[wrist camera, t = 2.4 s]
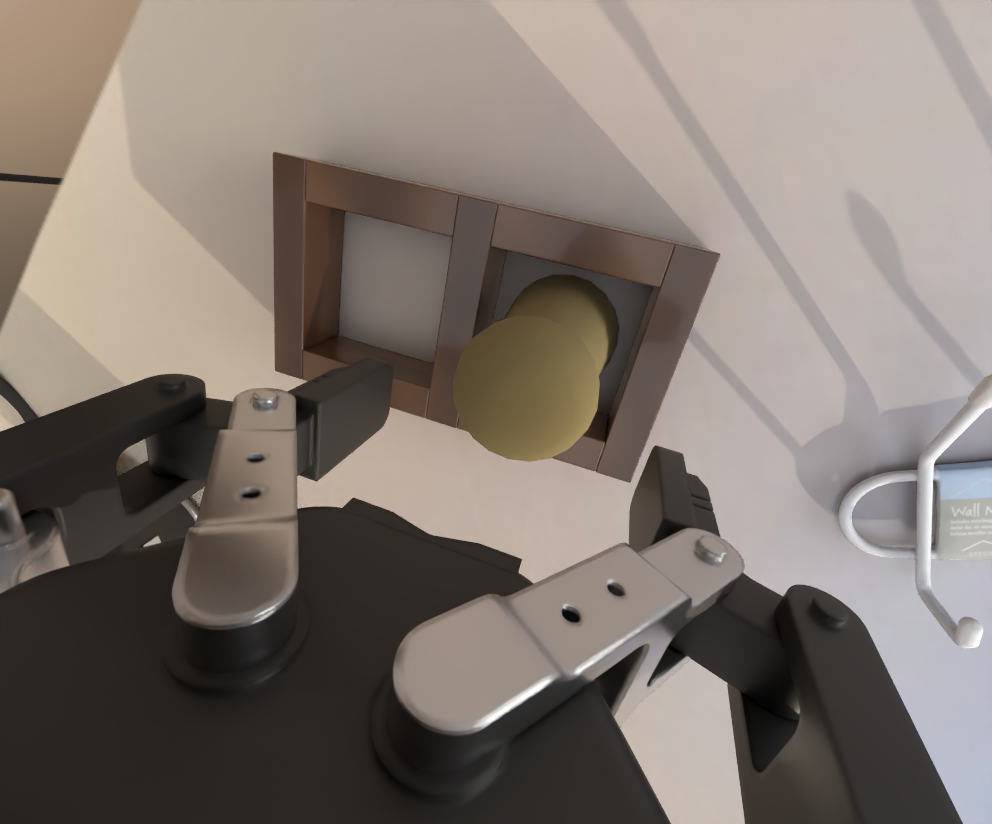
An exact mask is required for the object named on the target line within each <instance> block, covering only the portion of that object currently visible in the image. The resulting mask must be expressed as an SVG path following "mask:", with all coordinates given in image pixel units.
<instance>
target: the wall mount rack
mask: <svg viewBox="0 0 992 824" xmlns="http://www.w3.org/2000/svg"><path fill="white" fill-rule="evenodd" d="M968 400H969V401H968V402H967V404H966V405H965V406H964V407H963V408H962V409H961V410H960V411H959V412H958V413H957V414H956V416H955V417H954V418H953V419H952V420H951V421H950V422H949V423H948V424H947V425H946V427H945V428H944V429H943V430H942V431H941V432H940V433H939V434H938V435H937V436H936V438H935V439H934V440H933V441H932V442H931V443H930V444H929V445H928V446H927V448H926V449H925V450H924V451H923V452H922V453H921V455H920V457H919V461H918V470H904V471H894V472H887V473H882V474H878V475H875V476H872V477H870V478H867V479H865V480H863V481H862V482H860V483H858V484H857V485H856V486H854V487H853V488H852V489H851V490H850V491H849V492H848V493H847V494H846V496H845V497H844V498H843V500H842V502H841V505H840V508H839V514H838V520H839V525H840V528H841V530H842V532H843V534H844V535H845V537H846V538H847V539H848V540H849V541H850V542H851V543H852V544H853V545H855V546H856V547H857V548H859V549H861V550H863V551H865V552H867V553H870V554H873V555H876V556H881V557H888V558H907V559H910V558H913V559H915V560H916V587H917V591H918V594H919V596H920V597H921V599H922V600H923V602H924V603H925V605H926V606H927V607H928V609H929V610H930V611H931V613H932V614H933V616H934V617H935V618H936V620H937V621H938V622H939V624H940V625H941V626H942V627H943V629H944V630H945V631H946V633H947V634H948V636H949V637H950V638H951V639H952V640H953V641H954V642H955V643H956V644H957V645H958V646H960V647H962V648H975V647H977V646H978V645H979V643H980V640H981V637H982V633H983V627H982V625H981V624H980V623H979V622H978V621H977V620H975V619H973V618H971V617H963V618H961V619H960V620H959V622H958V626H957V624H956V623H955V622H954V620H953V619H952V618H951V616H950V615H949V614H948V612H947V611H946V610H945V609H944V608H943V606H942V605H941V604H940V603H939V601H938V600H937V599H936V597H935V596H934V594H933V592H932V589H931V584H930V558H934V559H937V560H975V559H992V460H991V461H980V462H968V463H955V464H942V465H934V463H935V460H936V459H937V458H938V457H939V456H940V455H941V454H942V453H943V452H944V451H945V450H946V449H947V448H948V447H949V446H950V444H951V443H952V442H953V441H954V440H955V439H957V438H958V437H959V436H960V435H961V434H962V433H963V432H964V431H965V430H966V429H967V428H968V427H969V426H970V424H971V423H972V422H974V421H975V420H976V419H977V418H978V417H979V416H980V415H981V414H982V413H983V412H984V411H985V410H986V409H987V408H991V407H992V375H989V376H987V377H985V378H984V379H983V381H982V382H981V383H980V384H979V385H978V386H977V387H976V388H975V389H974V390H973V391H972V393H971V394H970V395H969V397H968ZM905 481H917V511H916V547H911V548H899V547H884V546H880V545H875V544H873V543H870V542H868V541H866V540H865V539H863V538H862V537H861V536H859V534H858V533H857V532H856V531H855V529H854V527H853V524H852V511H853V509H854V506H855V504H856V503H857V501H858V500H859V499H860V498H861V497H862V496H863V495H864V494H866V493H867V492H869V491H870V490H872V489H874V488H876V487H879V486H881V485H885V484H889V483H894V482H905Z"/></svg>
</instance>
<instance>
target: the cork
mask: <svg viewBox="0 0 992 824" xmlns="http://www.w3.org/2000/svg"><path fill="white" fill-rule="evenodd" d="M618 331H619V325H618V321H617V316H616V312H615V309H614V307H613V305H612V304H611V302H610V300H609V299H608V297H607V296H606V294H605V293H604V292H603V291H602V290H600V289H599V288H598V287H597V286H595V285H594V284H593V283H592V282H590V281H588V280H585V279H582V278H580V277H577V276H574V275H552V276H549V277H545V278H542V279H539V280H537V281H535V282H534V283H532V284H531V285H530V286H528V287H527V288H525V289H524V290H523V291H522V292H521V293H520V295H519V296H518V297H517V299H516V300H515V302H514V303H513V304H512V306H511V308H510V310H509V312H508V314H507V316H506V318H505V319H504V320H500V321H496V322H495V323H493V324H492V325H490V326H489V327H488V328H486V329H485V330H483V331H482V332H480V333H479V334H478V335H476V336H475V337H473V339H472V340H471V341H470V343H469V344H468V345H467V347H466V348H465V350H464V351H463V352H462V354H461V356H460V359H459V362H458V365H457V369H456V372H455V376H454V379H453V392H454V403H455V406H456V409H457V411H458V414H459V417H460V420H461V422H462V423H463V424H464V426H465V427H466V428H467V430H468V431H469V433H470V434H471V435H472V437H473V438H474V439H475V440H476V441H478V442H479V443H480V444H481V445H483V446H484V447H485V448H486V449H488V450H489V451H491V452H493V453H496V454H498V455H500V456H503V457H505V458H508V459H514V460H522V461H529V462H530V461H536V460H543V459H549V458H552V457H554V456H556V455H558V454H560V453H562V452H564V451H566V450H568V449H569V448H570V447H571V446H572V445H573V444H574V443H575V442H576V441H577V440H578V439H579V438H580V437H581V436H582V435H583V434H584V433H585V432H586V431H587V430H588V428H589V426H590V424H591V422H592V420H593V418H594V416H595V413H596V411H597V407H598V398H599V387H600V380H599V375H600V374H601V372H602V371H603V369H604V368H605V367H606V365H607V364H608V363H609V361H610V359H611V357H612V355H613V353H614V351H615V348H616V346H617V341H618Z"/></svg>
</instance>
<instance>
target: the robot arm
mask: <svg viewBox="0 0 992 824" xmlns="http://www.w3.org/2000/svg"><path fill="white" fill-rule="evenodd" d="M63 180H64V178H55V177H42V176H30V175H18V174H6V173H0V181H11V182H26V183H39V184H53V185H54V184H55V185H62V182H63ZM393 373H394V369H393V365H392V364H391V363H388V362H385V361H381V360H378V359H375V358H372V357H366V358H364V359H362V360H360V361H358V362H356V363H354V364H352V365H350V366H346V367H341V368H336V369H332V370H330V371H328V372H326V373H324V374H322V375H321V376H318V377H316V378H314V379H312V381H308V382H306V383H304V384H302V385H300V386H298V387H296V388H294V389H292V390H290V391H288V392H286V391H283V390H279V389H273V388H257V389H251V390H247V391H244V392H241V393H239V394H238V395H237V396H236V397H235V398H234V401H233V402H232V401H225V400H218V399H211V398H206V389H205V383H204V381H202V380H201V379H199V378H197V377H194V376H190V375H183V374H165V375H157V376H153V377H149V378H146V379H143V380H141V381H138V382H135V383H132V384H130V385H127V386H124V387H121V388H119V389H116V390H113V391H110V392H108V393H105V394H102V395H100V396H97V397H94V398H91V399H89V400H86V401H83V402H80V403H78V404H75V405H72V406H69V407H67V408H64V409H61V410H59V411H56V412H53V413H50V414H48V415H45V416H42V417H39V418H38V417H37V416H36V414H35V413H34V412H33V410H32V409H31V408H30V407H29V405H28V404H27V403H26V402H25V401H24V399H23V398H22V397H21V396H20V395H19V394H18V393H17V392H16V391H15V390H14V389H13V388H12V387H11V386H10V385H9V384H8V383H7V382H6V381H4V380H3V379H2V378H1V377H0V394H1V395H2V396H3V397H4V398H5V399H6V400H7V401H8V402H9V403H10V404H11V405H12V406H13V407H14V408H15V409H16V410H17V411H18V413H19V414H20V415H21V417H22V418H23V420H24V421H25V423H23V424H20V425H17V426H15V427H12V428H9V429H7V430H4V431H1V432H0V824H671V823H670V821H669V819H668V817H667V816H666V814H665V812H664V810H663V808H662V806H661V804H660V802H659V801H658V799H657V797H656V795H655V793H654V791H653V789H652V787H651V786H650V784H649V782H648V780H647V778H646V776H645V774H644V772H643V771H642V769H641V767H640V765H639V763H638V761H637V759H636V757H635V756H634V754H633V752H632V750H631V748H630V746H629V744H628V742H627V740H626V739H625V737H624V735H623V733H622V731H621V729H620V727H621V726H622V725H623V723H624V722H625V721H626V720H627V718H628V717H629V716H630V714H631V713H632V712H633V711H634V709H635V708H636V707H637V706H638V705H639V704H640V703H641V702H642V701H643V700H644V699H645V698H646V697H648V696H649V695H650V694H651V693H652V692H654V691H655V690H656V689H657V688H658V687H659V686H661V685H662V684H663V683H664V682H665V681H666V680H668V679H669V678H670V677H671V676H672V675H674V674H675V673H676V672H677V671H678V670H679V669H681V668H682V667H683V666H684V665H685V664H687V663H688V662H689V661H690V659H692V660H694V661H695V662H697V663H698V664H700V665H701V666H703V667H704V668H706V669H707V670H709V671H710V672H712V673H713V674H715V675H716V676H718V677H720V678H721V679H723V680H724V681H726V682H727V683H728V694H729V702H730V710H731V717H732V725H733V733H734V741H735V748H736V756H737V764H738V771H739V779H740V787H741V795H742V802H743V810H744V818H745V824H963V823H962V821H961V819H960V817H959V815H958V813H957V811H956V809H955V807H954V805H953V803H952V801H951V799H950V797H949V795H948V793H947V791H946V788H945V786H944V784H943V782H942V780H941V778H940V776H939V774H938V772H937V770H936V768H935V766H934V764H933V762H932V760H931V758H930V756H929V754H928V752H927V750H926V748H925V746H924V744H923V742H922V740H921V738H920V736H919V734H918V732H917V730H916V728H915V726H914V724H913V721H912V719H911V717H910V715H909V713H908V711H907V709H906V707H905V705H904V703H903V701H902V699H901V697H900V695H899V693H898V691H897V689H896V687H895V685H894V683H893V681H892V679H891V677H890V675H889V673H888V671H887V669H886V667H885V665H884V663H883V661H882V659H881V657H880V654H879V652H878V650H877V648H876V646H875V644H874V642H873V640H872V638H871V636H870V634H869V632H868V630H867V628H866V627H865V625H864V623H863V622H862V621H861V619H860V618H859V617H858V616H857V615H856V614H855V613H854V612H853V611H852V610H851V609H850V608H849V607H847V606H846V605H845V604H844V603H842V602H841V601H839V600H838V599H836V598H835V597H833V596H831V595H830V594H828V593H826V592H824V591H822V590H819V589H817V588H814V587H811V586H807V585H794V586H791V587H790V588H789V589H788V590H787V592H786V593H785V595H784V596H781V595H779V594H777V593H776V592H774V591H772V590H770V589H768V588H766V587H765V586H763V585H761V584H759V583H757V582H756V581H754V580H752V579H751V578H749V577H748V576H746V575H745V574H744V573H743V570H744V561H743V559H742V557H741V555H740V554H739V553H738V551H737V550H736V549H735V548H734V547H733V546H732V545H730V544H729V543H728V542H727V541H725V540H724V539H722V538H720V534H719V530H718V526H717V522H716V519H715V515H714V512H713V507H712V503H711V502H710V501H711V500H710V496H709V492H708V489H707V487H706V486H705V485H704V484H703V483H702V481H701V480H700V479H699V478H698V477H697V476H695V475H692V474H688V473H687V472H686V467H685V462H684V457H683V454H682V453H679V452H676V451H672V450H669V449H666V448H663V447H659V446H654V448H653V449H652V451H651V453H650V456H649V458H648V461H647V463H646V466H645V468H644V470H643V473H642V475H641V478H640V480H639V482H638V485H637V487H636V490H635V492H634V495H633V498H632V502H631V506H630V518H629V545H628V544H626V543H620V544H618V545H615V546H613V547H611V548H609V549H607V550H605V551H603V552H601V553H598V554H596V555H594V556H592V557H590V558H588V559H586V560H584V561H582V562H579V563H577V564H575V565H573V566H571V567H569V568H567V569H565V570H562V571H560V572H558V573H556V574H554V575H552V576H550V577H548V578H546V579H543V580H541V581H539V582H537V583H535V584H533V583H532V582H531V581H529V580H528V579H527V578H526V577H524V576H523V575H521V574H519V573H518V571H519V568H520V564H521V561H522V559H520V558H517V557H515V556H512V555H509V554H506V553H504V552H501V551H498V550H495V549H493V548H490V547H487V546H484V545H482V544H479V543H474V542H468V541H462V540H456V539H450V538H444V537H438V536H433V535H430V534H428V533H426V532H424V531H423V530H421V529H419V528H418V527H416V526H414V525H413V524H411V523H410V522H408V521H406V520H405V519H403V518H402V517H400V516H398V515H397V514H395V513H393V512H391V511H389V510H386V509H383V508H380V507H378V506H375V505H372V504H369V503H367V502H364V501H361V500H358V499H356V498H352V499H351V500H350V501H349V502H348V503H347V504H346V505H345V506H344V507H343V508H338V507H306V508H300V509H297V476H298V475H300V476H303V477H306V478H309V479H311V480H314V481H318V480H319V479H320V478H322V477H323V476H324V475H325V474H326V473H328V472H329V471H330V470H331V469H333V468H334V467H335V466H336V465H337V464H339V463H340V462H341V461H342V460H343V459H345V458H346V457H347V456H348V455H350V454H351V453H352V452H353V451H354V450H356V449H357V448H358V447H359V446H360V445H362V444H363V443H364V442H365V441H366V440H368V439H369V438H370V437H371V436H373V435H374V434H375V433H376V432H377V431H379V430H380V429H381V428H382V427H383V425H384V424H385V422H386V420H387V417H388V414H389V409H390V400H391V391H392V382H393ZM143 439H146V446H147V453H148V459H149V460H148V461H146V462H144V463H142V464H141V465H139V466H137V467H135V468H133V469H131V470H130V471H128V472H126V473H124V474H122V475H120V476H119V477H117V472H116V462H117V460H118V457H119V456H120V454H121V453H122V452H123V451H124V450H125V449H126V448H128V447H129V446H131V445H133V444H135V443H137V442H139V441H141V440H143ZM203 487H205V488H204V492H203V496H202V500H201V504H200V508H199V510H198V509H197V507H196V506H195V505H194V504H193V503H192V501H191V500H190V499H189V497H190V496H191V495H193V494H194V493H196V492H197V491H199V490H200V489H202V488H203Z"/></svg>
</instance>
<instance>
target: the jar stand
mask: <svg viewBox="0 0 992 824" xmlns="http://www.w3.org/2000/svg"><path fill="white" fill-rule="evenodd" d="M344 211H348V212H352V213H356V214H360V215H364V216H368V217H372V218H377V219H381V220H385V221H389V222H393V223H397V224H401V225H405V226H409V227H413V228H417V229H421V230H426V231H430V232H434V233H438V234H442V235H446V236H450V237H453V240H452V246H451V253H450V260H449V266H448V273H447V280H446V286H445V293H444V300H443V306H442V313H441V320H440V326H439V333H438V340H437V346H436V353H435V360H434V364H431V363H428V362H425V361H421V360H418V359H414V358H411V357H408V356H404V355H401V354H397V353H394V352H391V351H387V350H384V349H380V348H377V347H373V346H370V345H367V344H363V343H360V342H356V341H353V340H350V339H346V338H343V337H339V336H338V322H339V302H340V283H341V264H342V244H343V225H344ZM273 219H274V315H275V371H277V372H280V373H284V374H287V375H290V376H293V377H296V378H300V379H303V380H306V381H312V379H314V378H316V377H318V376H321V375H322V374H324V373H326V372H328V371H330V370H332V369H336V368H341V367H346V366H350V365H352V364H354V363H356V362H358V361H360V360H362V359H364V358H366V357H372V358H375V359H378V360H381V361H385V362H388V363H391V364H392V365H393V369H394V373H393V382H392V391H391V400H390V407H391V408H395V409H398V410H401V411H404V412H407V413H410V414H414V415H417V416H420V417H423V418H426V419H429V420H432V421H435V422H439V423H442V424H445V425H448V426H451V427H454V428H458V429H462V430H465V431H468V430H467V428H466V427H465V426H464V424H463V423H462V422H461V420H460V417H459V414H458V411H457V409H456V406H455V403H454V392H453V379H454V376H455V372H456V369H457V365H458V362H459V359H460V356H461V354H462V352H463V351H464V350H465V348H466V347H467V345H468V344H469V343H470V341H471V340H472V339H473V337H475V336H476V335H478V334H479V333H480V332H482V331H483V330H485V329H486V328H488V327H489V326H490V325H492V321H493V316H494V311H495V306H496V301H497V296H498V291H499V286H500V281H501V276H502V271H503V266H504V261H505V256H506V251H511V252H515V253H520V254H524V255H528V256H532V257H536V258H540V259H544V260H548V261H552V262H556V263H560V264H565V265H569V266H573V267H577V268H581V269H585V270H589V271H593V272H597V273H601V274H605V275H609V276H614V277H618V278H622V279H626V280H630V281H634V282H638V283H642V284H646V285H650V286H653V289H652V292H651V295H650V298H649V301H648V304H647V306H646V309H645V312H644V315H643V318H642V321H641V324H640V327H639V330H638V333H637V335H636V338H635V341H634V344H633V347H632V350H631V353H630V356H629V359H628V362H627V365H626V367H625V370H624V373H623V376H622V379H621V382H620V385H619V388H618V391H617V394H616V396H615V399H614V402H613V405H612V408H611V411H610V414H609V417H608V415H605V414H601V413H598V412H596V413H595V416H594V418H593V420H592V422H591V424H590V426H589V428H588V430H587V431H586V432H585V433H584V434H583V435H582V436H581V437H580V438H579V439H578V440H577V441H576V442H575V443H574V444H573V445H572V446H571V447H570V448H569V449H568V450H566V451H564V452H562V453H560V454H558V455H556V456H554V457H552V458H554V459H557V460H560V461H563V462H567V463H570V464H573V465H576V466H579V467H582V468H586V469H589V470H592V471H595V470H596V472H597V473H601V474H604V475H607V476H610V477H613V478H616V479H620V480H623V481H626V482H629V483H630V482H631V480H632V477H633V475H634V472H635V470H636V467H637V465H638V462H639V460H640V457H641V455H642V452H643V450H644V447H645V445H646V442H647V440H648V437H649V434H650V432H651V429H652V427H653V424H654V422H655V419H656V417H657V414H658V412H659V409H660V407H661V404H662V402H663V399H664V397H665V394H666V391H667V389H668V386H669V384H670V381H671V379H672V376H673V374H674V371H675V369H676V366H677V364H678V361H679V359H680V356H681V354H682V351H683V348H684V346H685V343H686V341H687V338H688V336H689V333H690V331H691V328H692V326H693V323H694V321H695V318H696V316H697V313H698V311H699V308H700V305H701V303H702V300H703V298H704V295H705V293H706V290H707V288H708V285H709V283H710V280H711V278H712V275H713V273H714V270H715V268H716V265H717V262H718V260H719V257H720V254H719V253H717V252H714V251H712V250H709V249H706V248H702V247H697V246H693V245H689V244H684V243H680V242H675V241H671V240H670V241H669V240H667V239H662V238H658V237H653V236H649V235H645V234H640V233H636V232H631V231H627V230H623V229H618V228H614V227H609V226H605V225H601V224H596V223H592V222H587V221H583V220H579V219H574V218H570V217H566V216H561V215H557V214H552V213H548V212H544V211H539V210H535V209H530V208H526V207H522V206H517V205H513V204H508V203H504V202H500V201H495V200H491V199H486V198H482V197H478V196H473V195H469V194H465V193H460V192H456V191H451V190H447V189H443V188H438V187H434V186H429V185H425V184H421V183H416V182H412V181H407V180H403V179H399V178H394V177H390V176H385V175H381V174H377V173H372V172H368V171H363V170H359V169H355V168H350V167H345V166H341V165H337V164H333V163H328V162H324V161H319V160H315V159H309V158H304V157H298V156H293V155H288V154H282V153H277V152H274V153H273ZM468 432H469V431H468Z"/></svg>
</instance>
